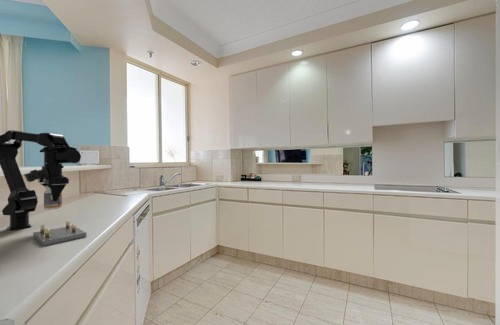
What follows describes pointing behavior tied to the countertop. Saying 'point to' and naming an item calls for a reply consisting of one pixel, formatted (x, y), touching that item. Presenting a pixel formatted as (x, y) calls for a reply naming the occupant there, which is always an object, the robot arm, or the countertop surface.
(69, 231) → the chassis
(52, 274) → the countertop surface
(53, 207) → the pill bottle
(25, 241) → the countertop surface
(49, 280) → the countertop surface
